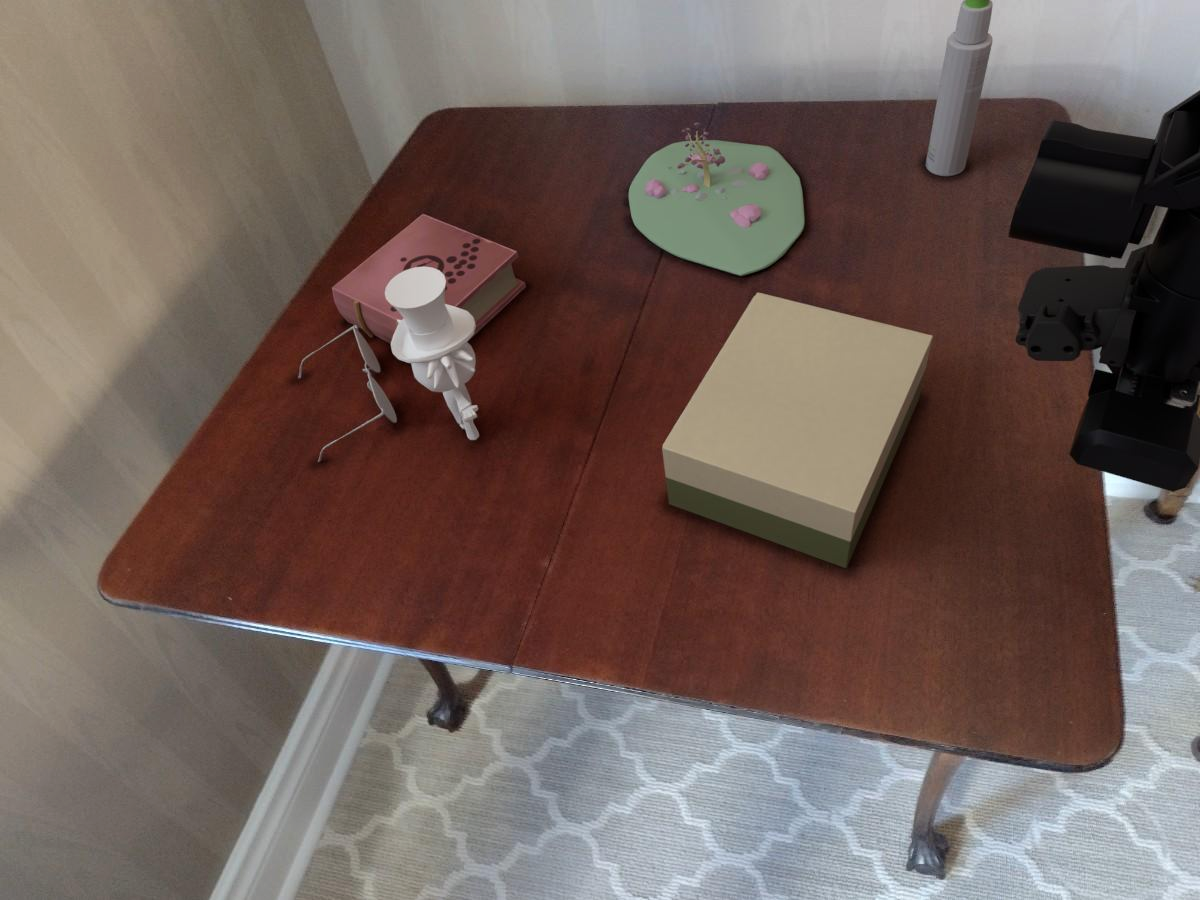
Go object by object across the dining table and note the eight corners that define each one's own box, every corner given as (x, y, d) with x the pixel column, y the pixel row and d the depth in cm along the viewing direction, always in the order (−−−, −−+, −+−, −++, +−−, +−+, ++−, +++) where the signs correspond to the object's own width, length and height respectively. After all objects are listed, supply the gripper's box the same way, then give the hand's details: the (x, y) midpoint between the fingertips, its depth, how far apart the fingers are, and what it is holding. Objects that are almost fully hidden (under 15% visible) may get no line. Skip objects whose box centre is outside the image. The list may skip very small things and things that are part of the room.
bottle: (938, 150, 105) (971, -25, 89) (972, 162, 102) (1012, -16, 87) (917, 168, 103) (947, -7, 88) (952, 181, 101) (989, 3, 85)
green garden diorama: (863, 226, 98) (872, 154, 91) (703, 299, 94) (699, 230, 87) (739, 127, 113) (738, 59, 106) (596, 187, 109) (586, 121, 102)
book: (342, 326, 99) (325, 292, 95) (434, 248, 105) (422, 213, 102) (433, 373, 92) (419, 338, 88) (525, 287, 99) (516, 251, 95)
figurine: (524, 446, 84) (480, 304, 70) (450, 480, 83) (390, 342, 69) (484, 378, 91) (437, 236, 77) (415, 409, 89) (354, 270, 75)
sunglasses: (402, 435, 87) (378, 405, 83) (326, 474, 87) (299, 445, 83) (373, 347, 96) (350, 316, 92) (304, 382, 96) (278, 353, 92)
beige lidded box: (919, 398, 82) (933, 335, 76) (846, 568, 72) (855, 512, 66) (755, 352, 88) (755, 291, 82) (667, 503, 78) (660, 447, 72)
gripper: (1081, 150, 57) (1023, 326, 70) (1011, 339, 48) (958, 504, 60) (1282, 183, 53) (1183, 364, 65) (1248, 397, 44) (1139, 563, 56)
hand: (1113, 442), depth 62 cm, fingers closed
